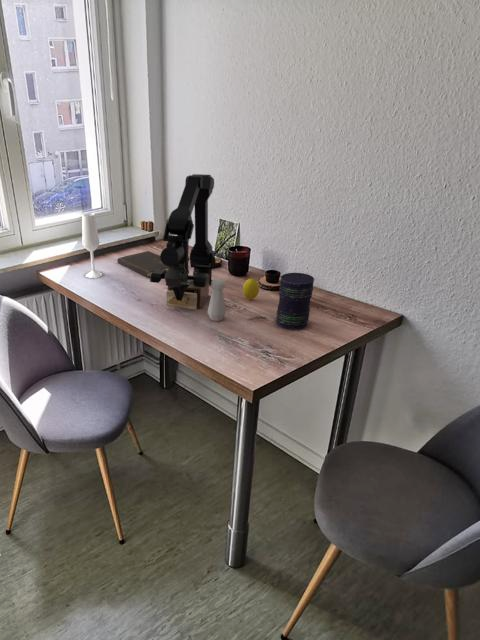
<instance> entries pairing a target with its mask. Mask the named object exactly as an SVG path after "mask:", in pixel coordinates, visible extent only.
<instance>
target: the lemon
mask: <svg viewBox="0 0 480 640" xmlns="http://www.w3.org/2000/svg"><path fill="white" fill-rule="evenodd" d="M259 292H260V285H259V282H258V281H257V280H256V279H254V277H251V278H249V279H246V280H245V281H244V284H243V287H242V294H243V296H244V297H245V298H246V299H248V300H249V301H252V300H253V299H256V297H258V295H259Z"/></svg>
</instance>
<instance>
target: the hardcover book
mask: <svg viewBox="0 0 480 640" xmlns="http://www.w3.org/2000/svg"><path fill="white" fill-rule="evenodd" d="M117 264H119V265H121V266H124V267H126V268H127V269H130V270H132V271H134V272H135V273H138V274H140V275H142V276H143V277H146V278H149V279H150V274H151V273H152V272H153V271H154V270H156V269H163V270H166V271H167V270H168V268H169V266H166V265H164V264H163V263H162V261H161V258H160V255H159V254H157V253H154V252H153V251H149V250H146V251H142V252H137V253H134V254H129V255H125V256H121V257H118V258H117Z"/></svg>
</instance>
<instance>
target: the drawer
mask: <svg viewBox="0 0 480 640" xmlns="http://www.w3.org/2000/svg"><path fill="white" fill-rule="evenodd" d="M197 303H198V291H196V290H185V293H184V295H183V298H182V300H177V299H176V297H175V294H174V292H173V290H172V289H171V291H170V290H168V289H167V290H166V307H173V308H181V309H187V310H189V309H190V310H197V309H198V308H197Z"/></svg>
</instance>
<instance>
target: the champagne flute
mask: <svg viewBox="0 0 480 640" xmlns="http://www.w3.org/2000/svg"><path fill="white" fill-rule="evenodd" d="M81 221H82V222H81V239H82V243H81V244H82V247H84V249H86V250H87V251H89V253H90V265H91V271H89V272H87V274H85V277H86V278H89V279H96V278H97V279H98V278H100V277H102V276H103V273H101V272H100V271H97V270H96V268H95V256H94V252H95V251H96V250H97V248H98V247H99V245H100V238H99V232H98V227H97V226H98V225H97V221H96V215H95V213H92V212H86V213H82V214H81Z"/></svg>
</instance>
